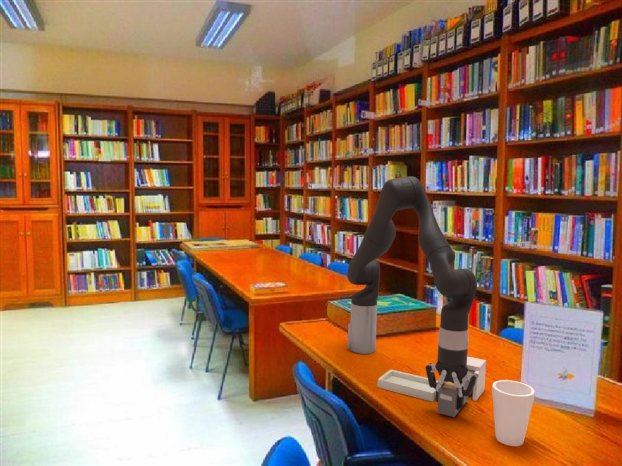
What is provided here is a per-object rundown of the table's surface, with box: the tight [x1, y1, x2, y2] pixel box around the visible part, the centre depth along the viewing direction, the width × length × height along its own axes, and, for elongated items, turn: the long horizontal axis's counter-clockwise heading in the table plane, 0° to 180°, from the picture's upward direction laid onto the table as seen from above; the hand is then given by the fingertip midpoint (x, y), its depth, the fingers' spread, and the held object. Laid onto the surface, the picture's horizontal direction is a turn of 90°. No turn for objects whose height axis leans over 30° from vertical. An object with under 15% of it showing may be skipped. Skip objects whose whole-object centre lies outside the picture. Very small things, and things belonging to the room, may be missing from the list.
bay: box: [466, 355, 487, 402], centre depth 151 cm, size 8×9×9 cm
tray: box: [377, 369, 439, 403], centre depth 152 cm, size 17×10×2 cm, turn 58°
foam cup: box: [491, 379, 536, 447], centre depth 124 cm, size 10×9×13 cm
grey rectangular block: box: [436, 376, 469, 418], centre depth 139 cm, size 4×14×7 cm, turn 148°
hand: (449, 406), depth 137 cm, fingers closed on grey rectangular block, 4 cm apart
